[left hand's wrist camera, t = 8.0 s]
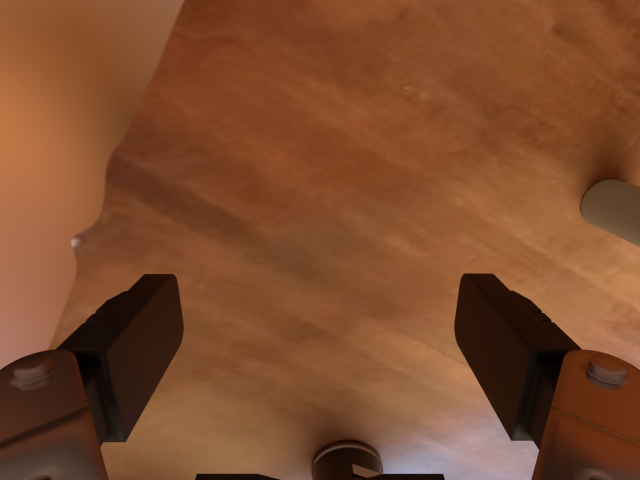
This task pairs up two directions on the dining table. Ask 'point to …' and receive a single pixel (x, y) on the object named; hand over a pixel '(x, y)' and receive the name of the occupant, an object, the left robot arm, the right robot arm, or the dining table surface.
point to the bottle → (614, 209)
